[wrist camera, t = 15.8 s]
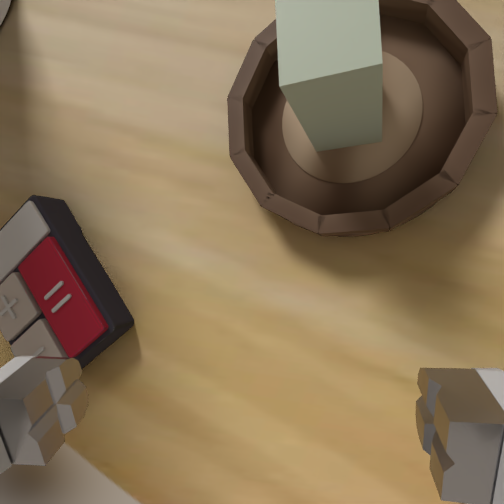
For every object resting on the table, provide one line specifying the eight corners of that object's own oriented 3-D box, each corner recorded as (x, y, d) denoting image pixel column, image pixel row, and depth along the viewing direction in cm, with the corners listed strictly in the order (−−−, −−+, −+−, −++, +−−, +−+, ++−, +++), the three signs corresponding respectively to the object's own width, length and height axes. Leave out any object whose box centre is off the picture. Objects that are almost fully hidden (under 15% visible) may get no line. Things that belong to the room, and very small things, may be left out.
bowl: (246, 244, 29) (231, 241, 26) (238, 40, 30) (222, 16, 27) (493, 226, 23) (508, 221, 20) (472, -26, 24) (484, -65, 21)
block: (316, 151, 26) (279, 86, 16) (313, 91, 26) (274, -7, 17) (382, 141, 24) (382, 63, 15) (378, 77, 25) (376, -39, 15)
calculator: (30, 400, 32) (-43, 265, 35) (68, 383, 36) (1, 263, 39) (110, 331, 29) (25, 191, 32) (142, 321, 33) (64, 198, 36)
